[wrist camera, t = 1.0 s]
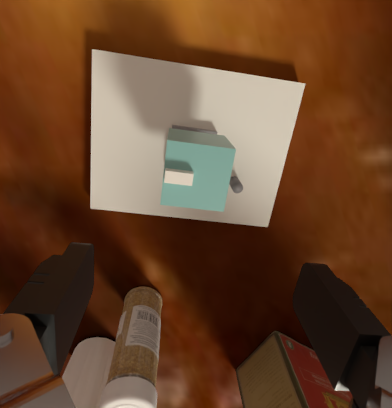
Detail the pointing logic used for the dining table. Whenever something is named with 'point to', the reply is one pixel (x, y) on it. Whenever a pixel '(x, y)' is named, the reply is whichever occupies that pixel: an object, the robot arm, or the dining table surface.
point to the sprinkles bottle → (135, 353)
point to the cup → (89, 371)
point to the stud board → (191, 121)
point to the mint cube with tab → (197, 170)
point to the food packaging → (286, 377)
